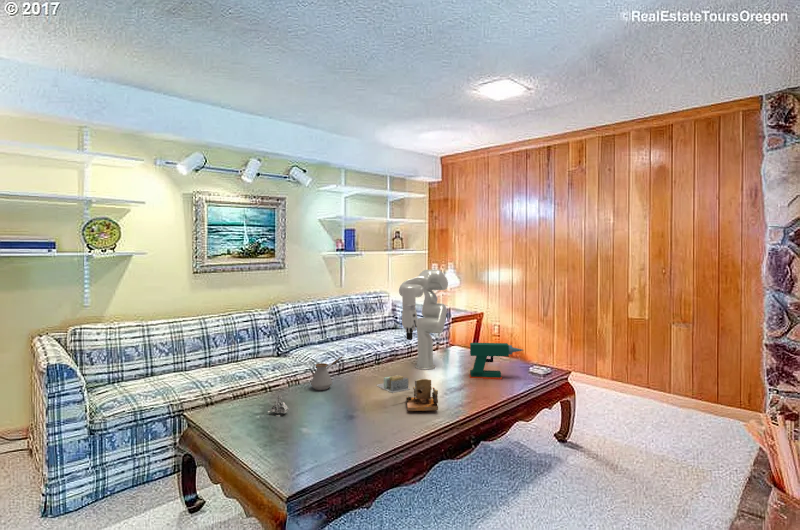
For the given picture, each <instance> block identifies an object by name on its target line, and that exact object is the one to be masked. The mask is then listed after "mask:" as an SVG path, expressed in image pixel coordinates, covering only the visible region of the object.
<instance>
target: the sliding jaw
mask: <svg viewBox="0 0 800 530" xmlns="http://www.w3.org/2000/svg"><path fill="white" fill-rule="evenodd" d="M399 375H400V374H399ZM391 376H392V375H391ZM391 376H385V377H383V383H384V387H385V388H388V387H390V377H391ZM400 376H402V375H400Z"/></svg>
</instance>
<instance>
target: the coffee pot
mask: <svg viewBox="0 0 800 530" xmlns="http://www.w3.org/2000/svg"><path fill="white" fill-rule="evenodd" d="M341 359H342V360H345V357H344V356H340V357H338V358H337V359H335V360H334V361H333V362H332V363H331V364H329V365H328V363H322V362H320V363H316V364H315V367H316V370H315V372H314V374H313V377H312V379H311V382H310V385H311V387H312V388H313V389H314V390H316V391H326V390H327V389H329V388H330V387H331V386H332V385H333V381H332V379H331V376H330V374H329V371H328V369H330V368H331V367H332V366H333V365H335V364H336V363H338V362H339V361H341Z"/></svg>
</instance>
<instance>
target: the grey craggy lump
mask: <svg viewBox="0 0 800 530" xmlns="http://www.w3.org/2000/svg"><path fill="white" fill-rule="evenodd" d="M282 398H283V397H282V395H281V394H279V395H278V397H277V400H276V401H275V403H274V404H273V405H272V407H271V410H268V411H267V413H270V412H273V413H274V414H276V413H277V415H276V417H281V415H280V414H279V413H282V414H285V413H287V412H288V411H289V407H288V406H287V404H286V403H285V402H284V401H283V400H282Z"/></svg>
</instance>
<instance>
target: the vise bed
mask: <svg viewBox="0 0 800 530" xmlns="http://www.w3.org/2000/svg"><path fill="white" fill-rule="evenodd" d="M376 386H377V387H379V388H380V389H383V390H385V391H387V392H389V393H392V394H393V393H400V392H405V391H409V390H410V387H409V378H407V377H403V379H398V380H392V381H391V388H390V387H388V388H385V387H384V382H382V383H379V384H376Z"/></svg>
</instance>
